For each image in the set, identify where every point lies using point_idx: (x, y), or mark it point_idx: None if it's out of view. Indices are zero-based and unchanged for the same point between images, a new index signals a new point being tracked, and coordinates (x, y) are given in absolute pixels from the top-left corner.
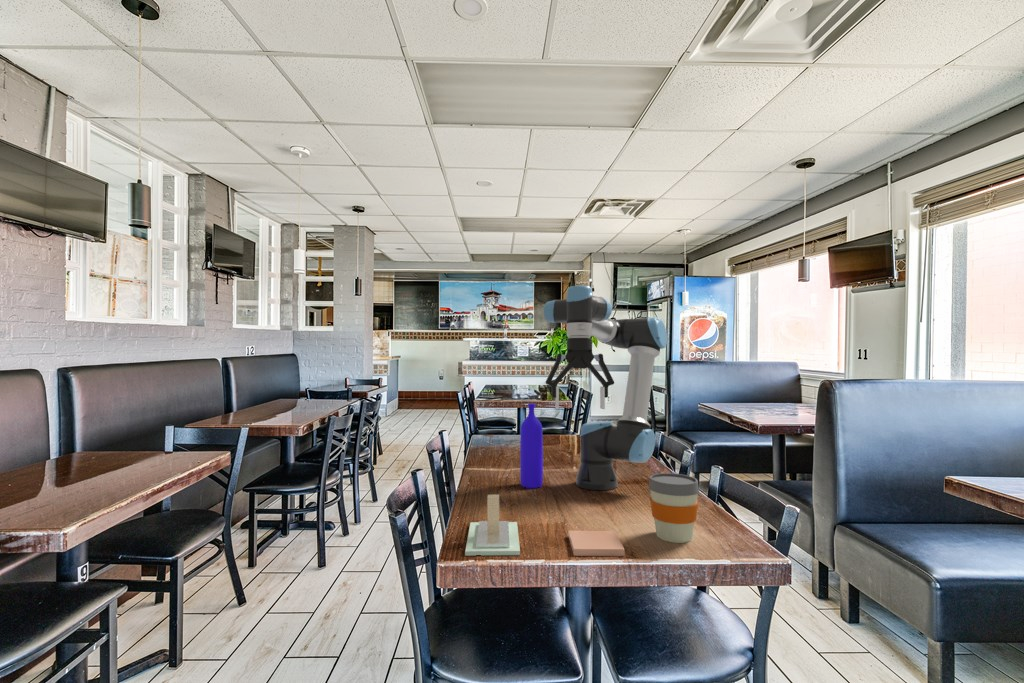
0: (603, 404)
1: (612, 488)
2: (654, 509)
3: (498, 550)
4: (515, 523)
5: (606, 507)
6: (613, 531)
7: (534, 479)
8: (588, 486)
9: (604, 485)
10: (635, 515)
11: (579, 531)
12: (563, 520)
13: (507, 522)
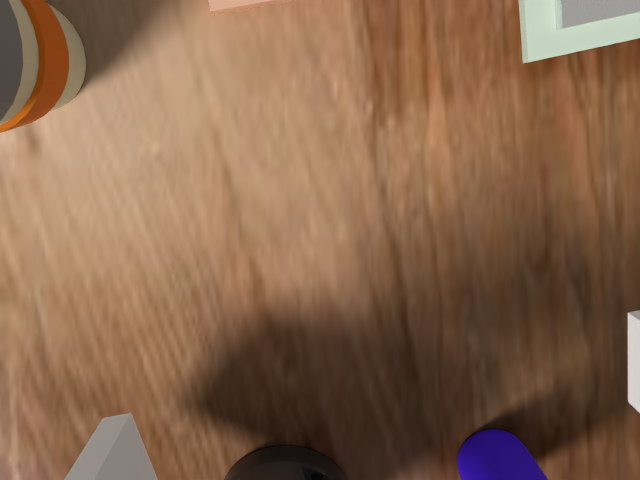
0: (93, 455)
1: (234, 465)
2: (40, 6)
3: None
4: (532, 45)
5: (248, 290)
6: (213, 4)
7: (491, 450)
8: (309, 455)
9: (257, 461)
10: (156, 230)
11: None
12: (377, 141)
13: (564, 11)
